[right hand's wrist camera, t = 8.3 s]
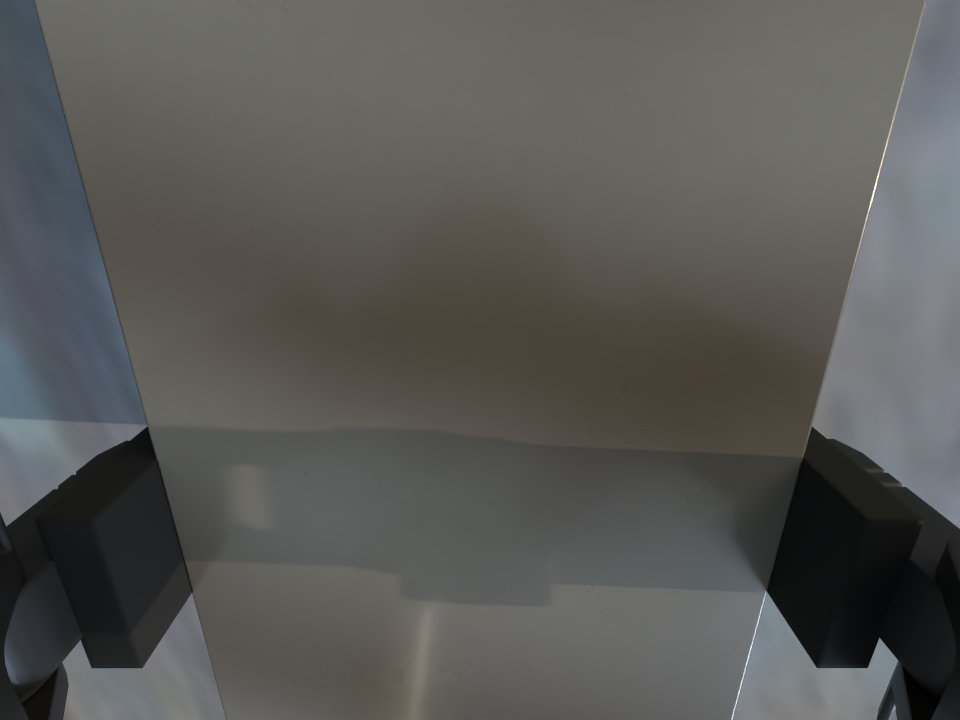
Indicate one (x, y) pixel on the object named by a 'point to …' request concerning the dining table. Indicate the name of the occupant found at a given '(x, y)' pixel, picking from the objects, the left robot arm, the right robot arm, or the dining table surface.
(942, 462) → the dining table surface
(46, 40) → the cabinet
